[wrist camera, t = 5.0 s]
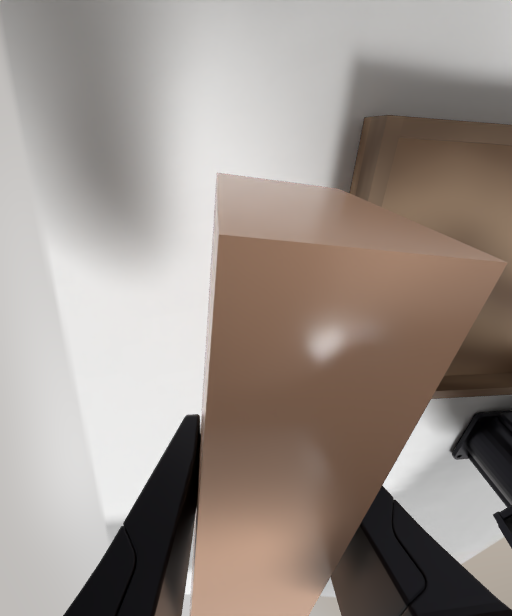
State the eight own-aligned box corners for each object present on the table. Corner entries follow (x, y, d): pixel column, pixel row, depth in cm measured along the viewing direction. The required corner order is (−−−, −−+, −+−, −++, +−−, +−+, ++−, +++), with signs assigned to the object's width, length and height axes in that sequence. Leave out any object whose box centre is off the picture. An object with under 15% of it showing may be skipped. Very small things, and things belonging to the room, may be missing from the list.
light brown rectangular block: (260, 504, 14) (280, 665, 10) (195, 507, 14) (186, 678, 9) (339, 188, 7) (508, 261, 3) (216, 172, 7) (218, 234, 3)
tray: (509, 373, 27) (534, 393, 25) (312, 381, 24) (321, 404, 22) (653, 140, 18) (711, 140, 16) (364, 117, 15) (387, 115, 13)
